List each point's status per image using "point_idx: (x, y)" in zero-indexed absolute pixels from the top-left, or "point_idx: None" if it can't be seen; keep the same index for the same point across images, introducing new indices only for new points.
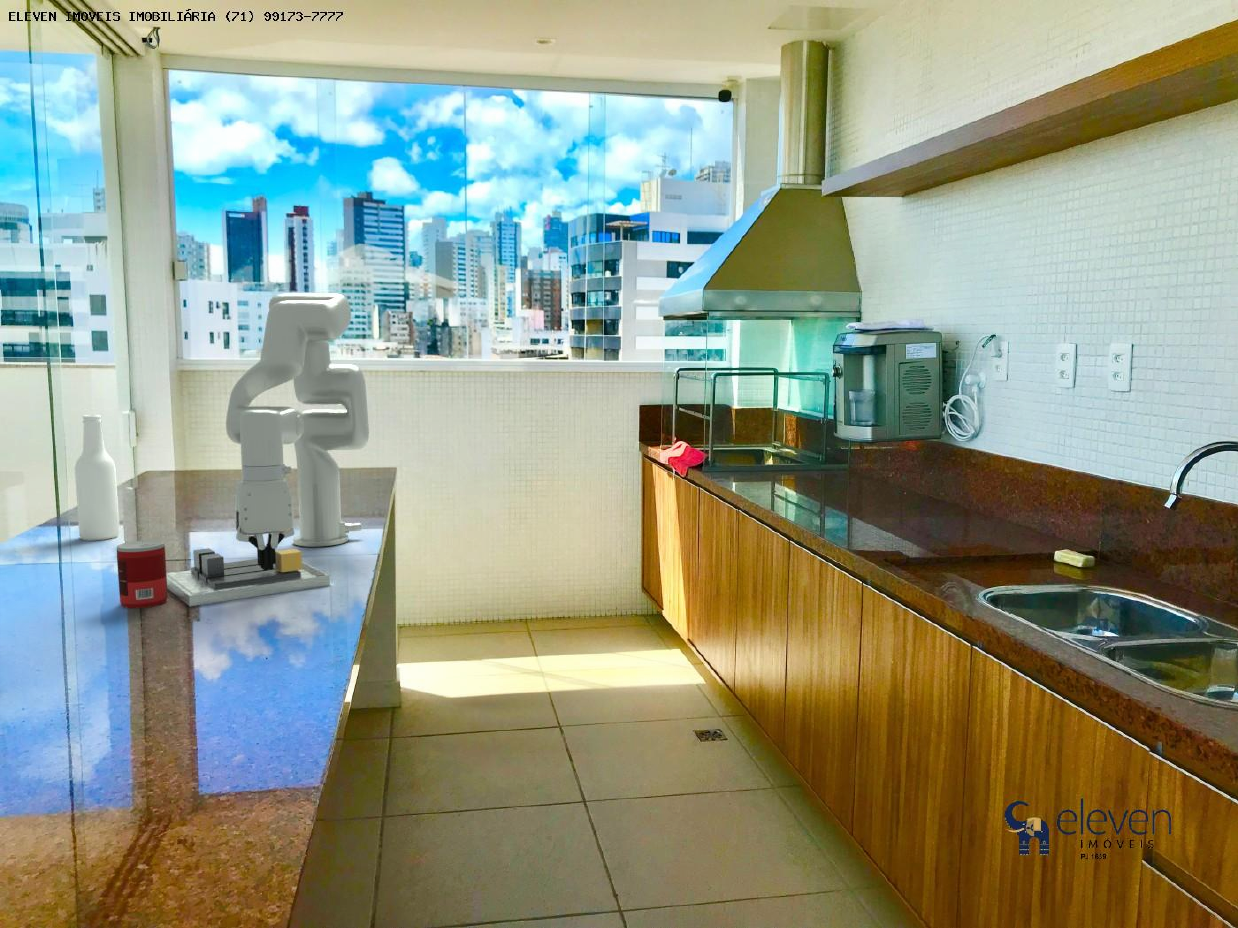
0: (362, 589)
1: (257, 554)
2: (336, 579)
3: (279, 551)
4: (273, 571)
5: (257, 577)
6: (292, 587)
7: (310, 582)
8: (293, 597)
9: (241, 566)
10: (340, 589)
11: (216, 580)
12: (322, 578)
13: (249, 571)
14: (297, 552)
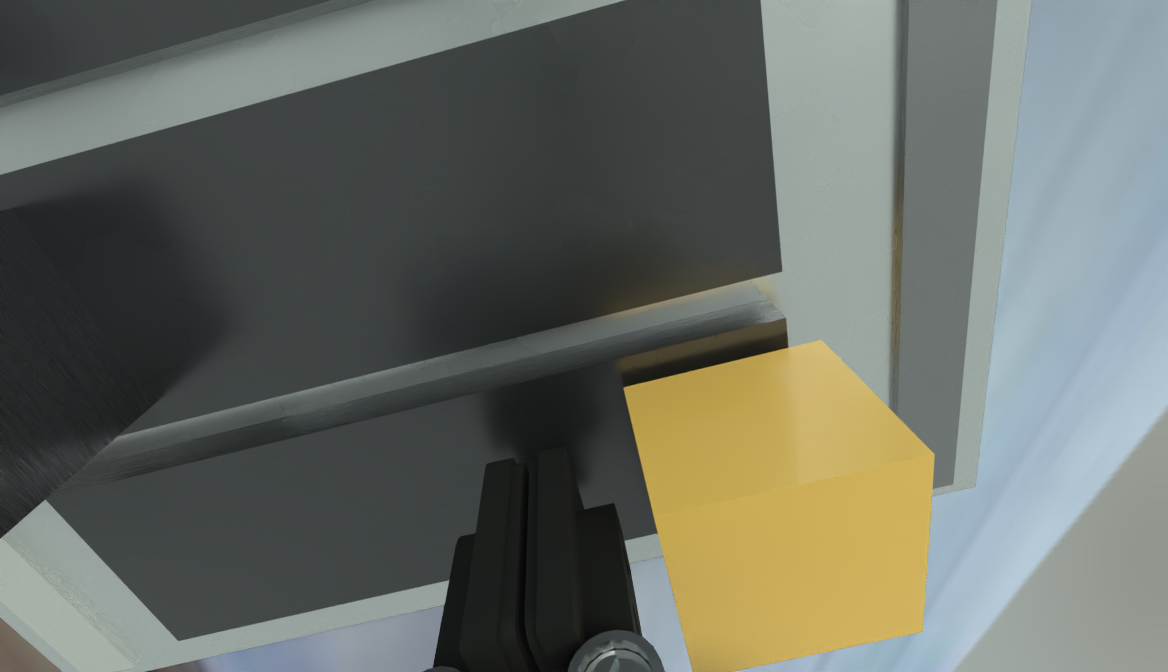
0: (1024, 569)
1: (443, 621)
2: (1040, 300)
3: (709, 554)
4: (601, 423)
5: None
6: None
7: None
8: (665, 607)
9: (238, 31)
10: (932, 539)
11: (155, 564)
12: None
13: (382, 353)
14: (873, 640)
